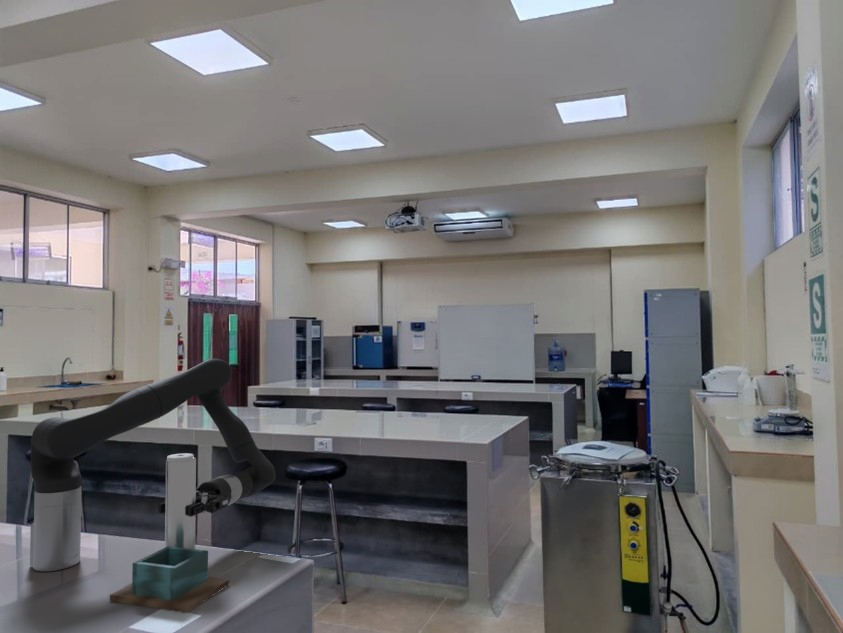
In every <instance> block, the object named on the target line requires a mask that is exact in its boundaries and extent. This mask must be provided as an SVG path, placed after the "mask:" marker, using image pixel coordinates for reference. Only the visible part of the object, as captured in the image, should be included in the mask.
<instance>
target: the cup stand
mask: <svg viewBox="0 0 843 633" xmlns="http://www.w3.org/2000/svg"><path fill="white" fill-rule="evenodd" d="M131 572H132V577H131V578H132V580H131V581H132V582H131V583H130V584H128V585H126V586H124V587H123V588H120V589H119V590H116V591H114V592H113V593H110V594H109V602H113V603H121V604H125V605H132V606H141V607H146V608H151V609H152V608H153V609H159V610H165V609H166V611H171V610H174V612H178V611H182V612H181V613H184V612H187V613H188V611H189V610H190V611H192V610H193V609H195V608H197V607H198V606H200V605H201V604H202V602H203V601H204V600H206V599H207V598H209V597H210V596H212V595H213V594H215V593H216V594H218V593H219V592H220V591H219V590H221V589H222V588H224V587H225V586H227V585H228V584H229V583H230V579H227V578H221V577H220V578H219V577H212V576H209V550H204V549H203V550H202V549H196V548H195V549H187V548H179V547H170V546H168V547H166V548H165V547H164V548H161V549H160V550H158V551H155V552H153V553H152V554H149V555H146V556H144V557H142V558H140V559H138V560H136V561H134V562H132V571H131ZM229 585H230V584H229ZM227 587H228V586H227ZM224 589H225V588H224ZM222 590H223V589H222ZM222 590H221V591H222ZM218 591H219V592H218ZM217 592H218V593H217ZM216 594H215V595H216ZM213 596H214V595H213ZM213 596H212V597H213ZM210 598H211V597H210ZM210 598H209V599H210ZM207 600H208V599H207ZM207 600H206V601H207ZM204 602H205V601H204ZM204 602H203V603H204ZM200 603H201V604H200ZM197 605H198V606H197ZM194 607H195V608H194ZM191 609H192V610H191ZM190 611H189V612H190Z"/></svg>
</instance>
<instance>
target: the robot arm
mask: <svg viewBox="0 0 843 633" xmlns="http://www.w3.org/2000/svg"><path fill="white" fill-rule="evenodd" d="M232 375H233V370H232V367H231V365H230V364H229V362H227V361H226V360H223V359H220V358H209V359H206V360H204V361H203V362H200V363H199V364H197V365H195V366H193V367H191V368H189V369H187V370H185V371H183V372H180V373H178V374H174V375H171V376H169V377H165V378H162V379H159V380H157V381H154V382H151V383H149V384H146V385H143V386H140V387H138V388H136V389H132V390H129V391H128V392H125V393H124V394H121V396H120V397H117V399H115V400H113V401H112V402H111V403H110V404H109V405H107V406H106V407H104V408H102V409H100V410H97V411H94V412H91V413H89V414H85V415H82V416H79V417H78V416H77V417H73V418H64V417H54V416H53V417H50V418H46V419H44V420H42V421H40V422H39V423H38V424H37V425H36V427H35V428H34V430H33V432H32V435H31V437H30V438H31V439H30V473H31V479H32V481H33V484H34V501H33V503H34V509H33V510H34V511H33V512H34V513H33V515H34V516H33V523H31V525H30V538H29V539H30V543H29V545H30V546H29V547H30V548H29V549H30V550H29V567H31V568H32V570H34V571H37V572H54V571H60V570H64V569H67V568H71V567H73V566H76V565H77V564H79V563H80V562H81V543H82V542H81V539H82V538H81V534H82V532H81V531H82V474H81V471H79V470H78V468H77V466H76V464H75V457H78V456H80V455H82V454H84V453H86V452H87V451H89V450H91V449H93V448H95V447H96V446H98V445H99V444H101V443H103V442H105V441H107V440H109V439H111V438H113V437H116V436H118V435H121V434H124V433H126V432H129V431H131V430H134V429H136V428H138V427H141V426H143V425H145V424H146V425H147V424H148V423H151V422H153V421H156V420H158V419H160V418H162V417H164V416H165V415H167V414H169V413H170V412H172V411H173V410H175V409H177V408H178V407H179V406H181V405H183V404H184V403H185V402H187V401H189V400H190V399H192V398H194V397H195V396H196V398H197V399H198V401H199V402H200V403H201V405H202V406H203V408H204V409H205V411H206V412H207V414H208V416H209V417H210V418H211V419H212V421H213V423H214V424H215V426H216V428H217V429H218V432H220V435H221V436H222V438H223V441H224V444H225V445H226V447H227V449H228V452H229V454H230V456H231V458H232V460H233V461H234V462H235V463H243V462H245V461H247V462H249V463H250V464H251V466H250V467H248V468H246V469H245V470H244V471H243V470H242V471H235V472H232V473H229V474H226V475H221V476H217V477H215V478H213V479H212V478H211V479H209V480H206V481H204V482H202V483H200V484H199V486H198V487H197V488H196V504H194V505H192V506H189V507H188V516H190V517H192V516H194V515H196V516H197V515H199V514H206V513H210V514H215V513H217V512H218V511H221V510H223V509H224V508H227V507H228V506H231V505H232V504H234V503H235V502H236V501H239V500H242V499H245V498H249V497H251V496H254V495H255V494H258V493H259V492H261V491H262V490H264V489H265V488H267V487H269V486H270V485H273V483H274V482H275V480H276V476H277V475H276V469H275V467H274V465H273V464H272V463H271V461H270V460H269V459H268V458H267V456H265V455H264V454H263V452H262V451H261V450H260V449H259V448H258V446H257V445H256V442H255V440H254V439H253V437H252V434H251V432H250V430H249V428H248V427H247V425H246V424H245V422H244V421H243V420H242V419H241V418H239V416H238V415H236V414H235V413H234V412H233V411H232V410H231V409H230V408H229V406H228V405H227V403H226V401H225V398H224V396H223V392H222V391H223V390H224V389H225V388H226V387H227V386H228V385H229V383H230V382H231V379H232ZM165 500H166V496H165V497H164V502H161V503H158V505H157V506H158V508H157V509H158V514H160V515H162V514H165Z"/></svg>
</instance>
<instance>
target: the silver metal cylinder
mask: <svg viewBox="0 0 843 633" xmlns="http://www.w3.org/2000/svg"><path fill="white" fill-rule="evenodd" d="M194 456H195V455H194V453H187V452H186V453H185V452H184V453H183V452H182V453H175V454H174V453H173V454H170V455H167V457H166V460H165V497H166V500H165V513H164V514H165V516H164V517H165V520H164V527H165V528H164V548H166V547H168V546H170V547H179V548H187V549H196V519H197V518H196V516H197V515H194V516H192V517H190V516H188V507H189V506H192V505H194V504H196V490H197V487H196V485H197V457H194Z"/></svg>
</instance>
